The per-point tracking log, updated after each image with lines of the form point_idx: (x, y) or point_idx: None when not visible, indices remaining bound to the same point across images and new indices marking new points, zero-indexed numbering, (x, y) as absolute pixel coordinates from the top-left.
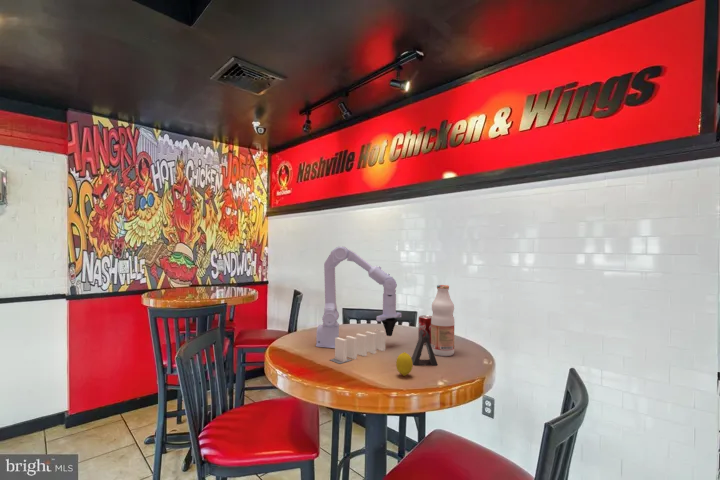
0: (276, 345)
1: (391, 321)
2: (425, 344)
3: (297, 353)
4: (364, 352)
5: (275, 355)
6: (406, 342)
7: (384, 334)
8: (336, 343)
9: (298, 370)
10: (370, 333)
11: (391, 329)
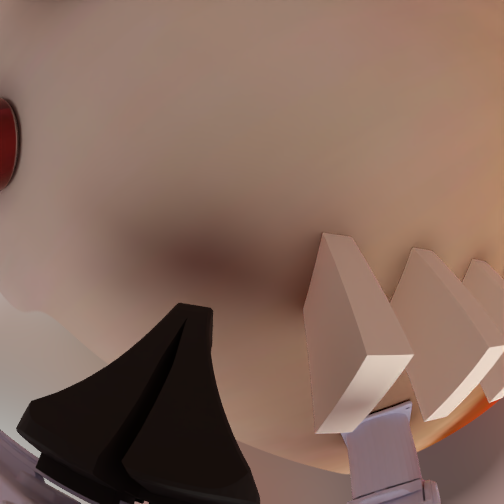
0: (417, 451)
1: (206, 494)
2: (15, 117)
3: (472, 404)
4: (495, 272)
5: (486, 407)
6: (53, 232)
7: (374, 327)
8: None
9: None
10: (482, 376)
11: (178, 356)
